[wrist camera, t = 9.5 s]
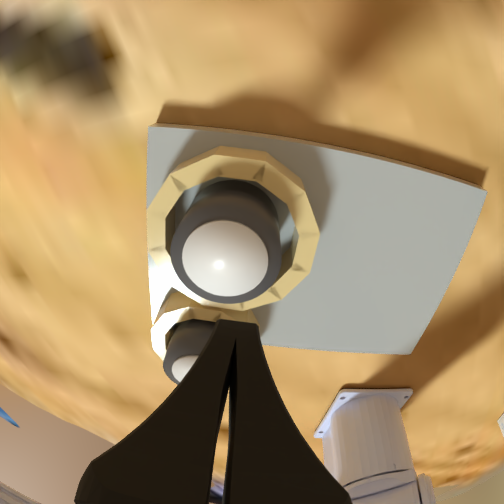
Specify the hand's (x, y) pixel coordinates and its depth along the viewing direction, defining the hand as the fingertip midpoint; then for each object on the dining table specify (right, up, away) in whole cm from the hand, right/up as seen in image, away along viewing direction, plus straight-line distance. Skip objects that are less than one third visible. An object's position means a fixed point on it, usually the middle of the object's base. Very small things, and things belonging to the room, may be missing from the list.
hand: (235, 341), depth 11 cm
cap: (0, +5, +7) cm, 8 cm away
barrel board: (+4, +2, +10) cm, 11 cm away
